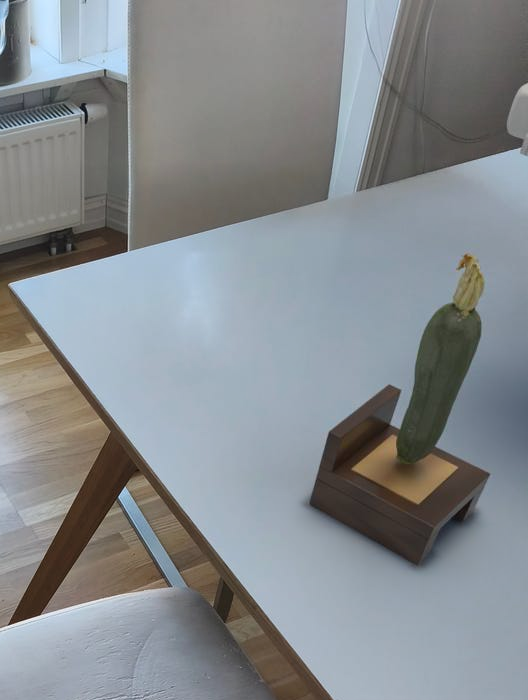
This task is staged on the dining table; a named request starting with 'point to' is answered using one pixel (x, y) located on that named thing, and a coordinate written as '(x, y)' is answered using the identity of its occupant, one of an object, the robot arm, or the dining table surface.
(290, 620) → the dining table surface
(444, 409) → the vegetable
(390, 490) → the wooden toy chair
